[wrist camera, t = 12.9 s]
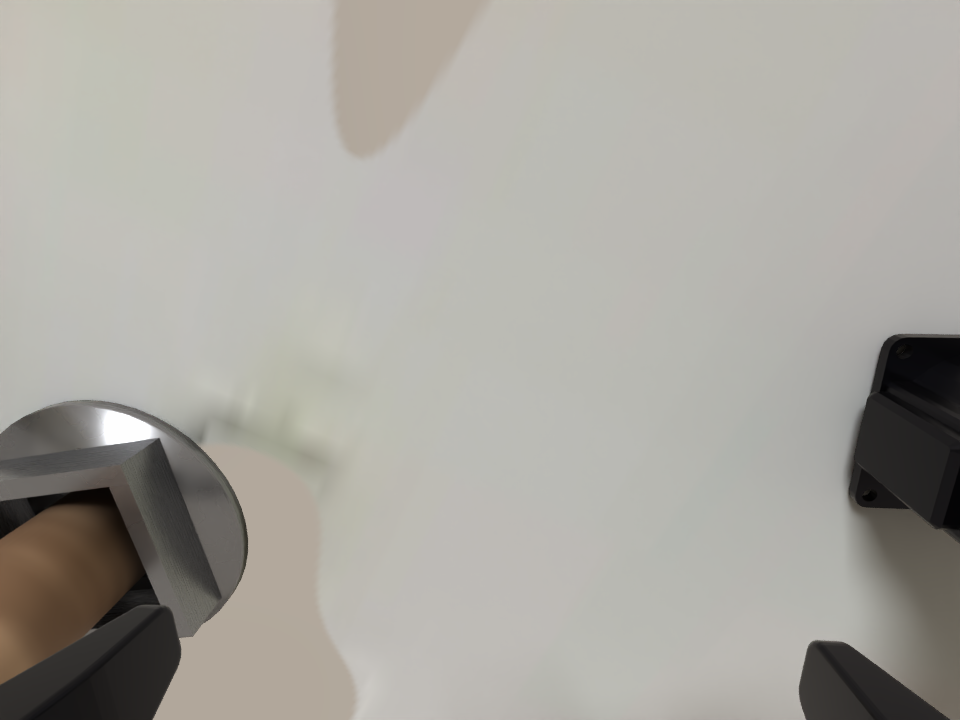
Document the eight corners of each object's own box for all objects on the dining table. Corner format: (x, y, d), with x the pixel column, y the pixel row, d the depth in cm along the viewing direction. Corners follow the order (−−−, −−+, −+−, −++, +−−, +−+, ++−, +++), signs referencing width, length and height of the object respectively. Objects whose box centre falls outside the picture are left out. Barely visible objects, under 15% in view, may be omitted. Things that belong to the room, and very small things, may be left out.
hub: (195, 381, 21) (148, 409, 19) (280, 617, 25) (250, 670, 22) (-54, 420, 23) (-131, 451, 20) (58, 637, 26) (5, 688, 24)
